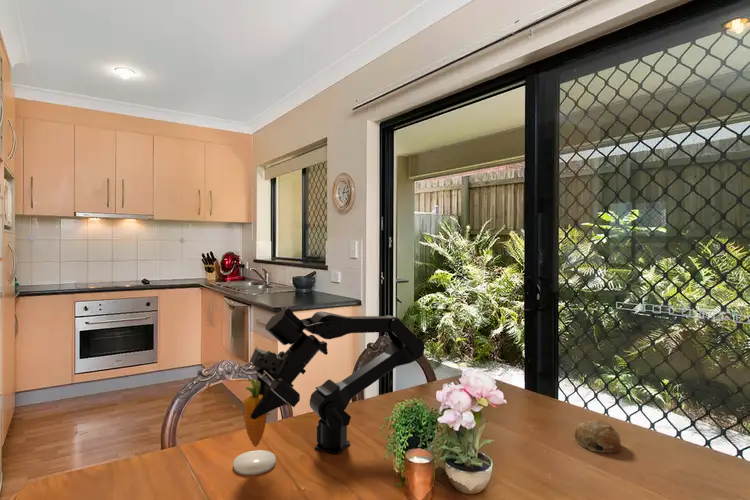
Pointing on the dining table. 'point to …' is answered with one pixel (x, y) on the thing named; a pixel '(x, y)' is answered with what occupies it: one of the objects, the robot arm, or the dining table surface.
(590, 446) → the bread roll
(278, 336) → the robot arm
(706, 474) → the dining table surface
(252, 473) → the smooth white pebble
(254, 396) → the carrot
